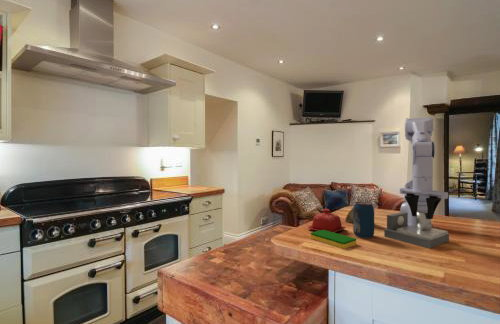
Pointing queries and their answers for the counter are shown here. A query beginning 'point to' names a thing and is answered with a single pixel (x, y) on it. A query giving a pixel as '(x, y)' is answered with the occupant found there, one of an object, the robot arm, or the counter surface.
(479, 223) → the counter surface
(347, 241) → the dish sponge
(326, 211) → the butter dish
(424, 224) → the steel weight
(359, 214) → the soda can
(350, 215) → the rock
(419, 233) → the scale pan
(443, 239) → the scale
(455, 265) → the counter surface
